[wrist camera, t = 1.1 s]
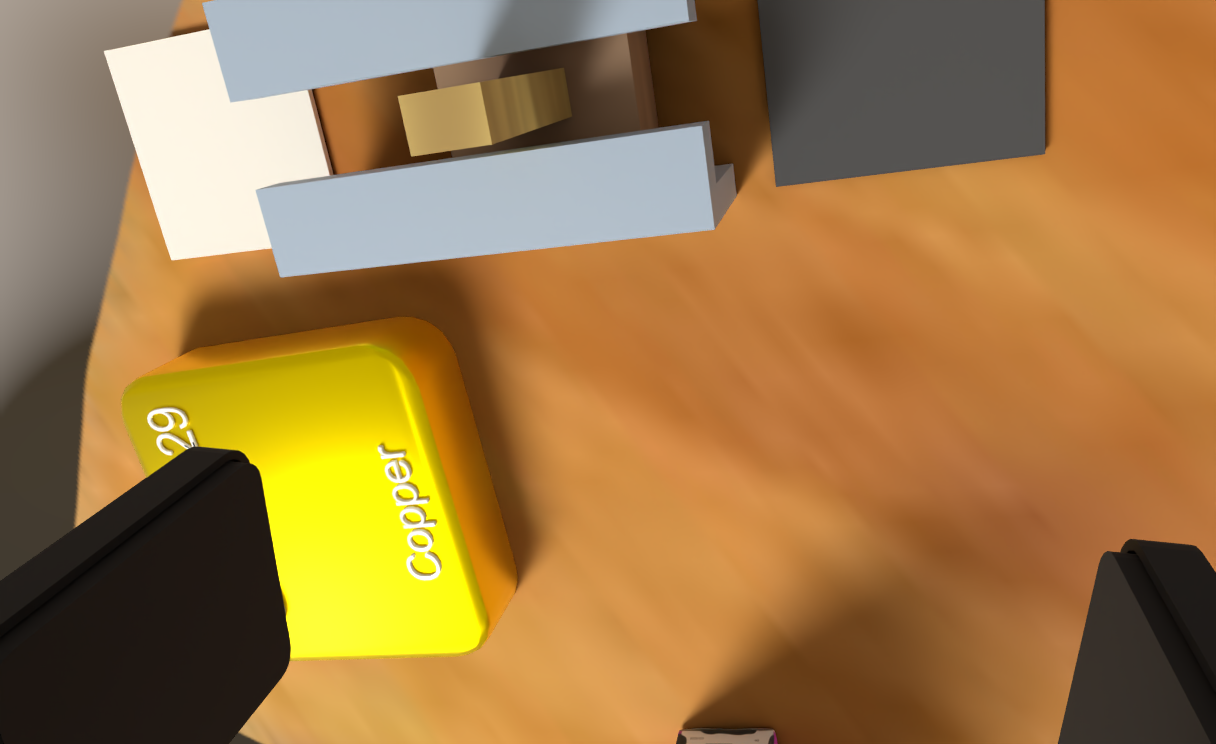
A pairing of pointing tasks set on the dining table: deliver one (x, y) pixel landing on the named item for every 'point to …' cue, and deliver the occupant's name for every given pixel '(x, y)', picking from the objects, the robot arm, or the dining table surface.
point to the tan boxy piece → (534, 98)
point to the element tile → (350, 480)
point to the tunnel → (469, 185)
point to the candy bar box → (726, 736)
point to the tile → (211, 144)
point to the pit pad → (901, 84)
